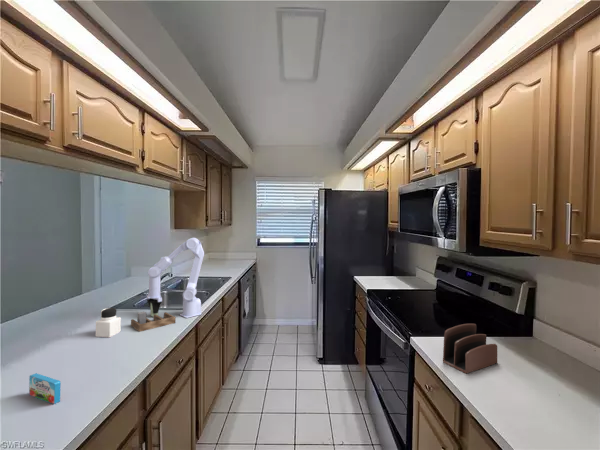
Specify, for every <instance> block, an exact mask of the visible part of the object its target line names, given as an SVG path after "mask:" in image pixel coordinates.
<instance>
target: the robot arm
mask: <svg viewBox="0 0 600 450" xmlns="http://www.w3.org/2000/svg"><path fill="white" fill-rule="evenodd" d="M188 250H189V251H190V252H192V253H193V254H194V259H193V262H192V266H191V270H190V274H189V278H188V281H187V285H186V288H185V290H184V291H183V292H182V313H180V314H179V315H180V317H183V318H185V319H187V318H188V319H189V318H192V317H197V316H200V315H202V302H201V299H200V298H199V297H196V295H197V291H198V290H197V286H198V284H197V283H198V279H199V277H200V272H201V270H202V269H201V268H202V265H203V264H202V263H203V261H204V257H205V251H204V248H203V246H202V242H201V241H200V240H199V239H198V238H197V237H191V238H188V239H187V240H186V241H184V242H182V243H181V244H179V246H177V247H176V248H175V249H174V250H173V251H172V252H171V253H170V254H169V255H168V256H167V255H165V256H161V257H160V258H159V259H160V260H158V261H157V262H156V263H154V264H153V266H152V267H150V268H149V269H148V270H147V274H148V275H147V276H148V278H149V279H148V293H147V296H146V301H147V303H148V305H149V310H150V309H151V304H152V307H153V313H158V314H159V310H160V307H161V304H162V303H163V297H162V295H161V281H162V280H161V274H162V273H163V272H165V270H166V269H168V267H170V266H171V265H172V264H173V260H174V259H175V258H176V257H178V256H179V255H180V254H181V253H183V251H184V252H185V251H188Z"/></svg>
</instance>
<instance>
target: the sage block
mask: <svg viewBox="0 0 600 450" xmlns="http://www.w3.org/2000/svg"><path fill="white" fill-rule="evenodd" d="M149 310H150V312H149V313H150V314H149V315H150V316H151V317H153V318H154V315H155V314H156V315H157V316H159V312H158V313H153V307H152V304H151V309H150V308H149Z"/></svg>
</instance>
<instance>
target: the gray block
mask: <svg viewBox="0 0 600 450" xmlns="http://www.w3.org/2000/svg"><path fill="white" fill-rule="evenodd" d="M136 317H137V318H136V319H137V322H138V323H140V324H144V323H146V318H147V312H145V311H140V312H137V316H136Z"/></svg>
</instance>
